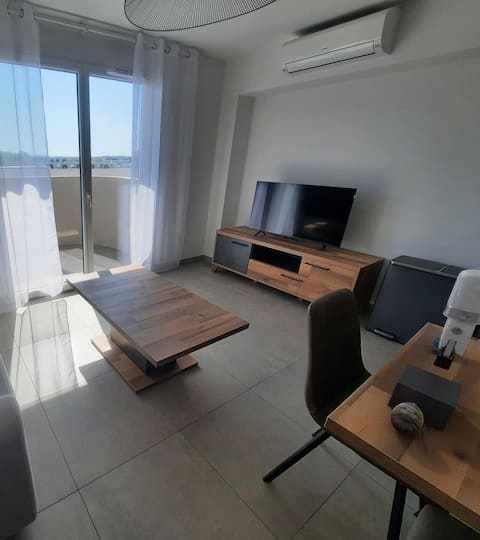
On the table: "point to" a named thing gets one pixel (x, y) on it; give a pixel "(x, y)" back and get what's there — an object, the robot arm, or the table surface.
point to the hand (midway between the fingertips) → (441, 366)
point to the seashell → (407, 418)
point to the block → (436, 346)
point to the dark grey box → (427, 395)
